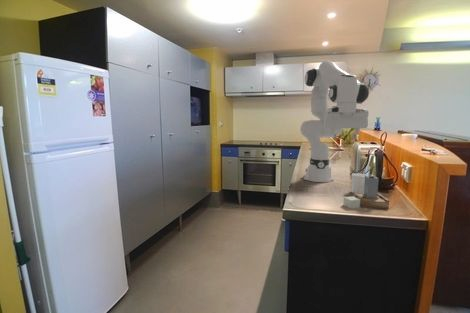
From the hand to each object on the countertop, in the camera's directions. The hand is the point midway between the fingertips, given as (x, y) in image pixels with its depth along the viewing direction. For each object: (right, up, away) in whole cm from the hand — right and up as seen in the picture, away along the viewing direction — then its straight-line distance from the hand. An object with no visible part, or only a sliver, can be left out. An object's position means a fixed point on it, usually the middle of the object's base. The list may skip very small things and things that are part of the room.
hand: (344, 137), depth 130 cm
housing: (+11, -29, -3) cm, 31 cm away
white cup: (+14, -29, +16) cm, 36 cm away
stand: (+11, -32, -2) cm, 34 cm away
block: (+1, -33, -6) cm, 33 cm away
